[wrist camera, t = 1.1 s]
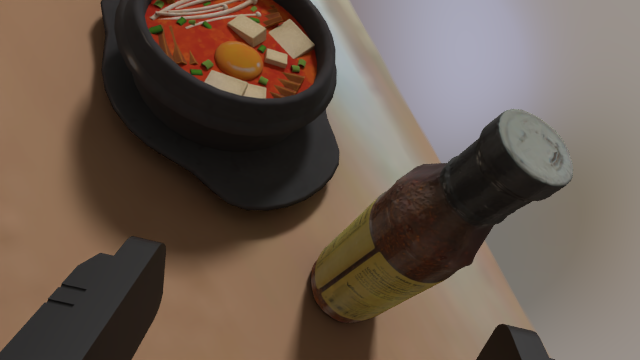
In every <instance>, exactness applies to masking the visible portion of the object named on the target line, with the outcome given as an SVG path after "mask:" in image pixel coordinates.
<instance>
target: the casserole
mask: <svg viewBox="0 0 640 360" xmlns="http://www.w3.org/2000/svg"><path fill="white" fill-rule="evenodd" d="M101 9H102V15H103V22H104V28H105V35H106V36H105V44H104V52H103V61H102V76H103V81H104V87H105V91H106V93H107V95H108V97H109V99H110V102H111V104H112V106H113V108H114V110H115V111H116V113H117V114H118V115H119V117H120V118H121V119H122V121H123V122H124V123H125V125H126V126H127V127H128V129H130V130H131V131H132V132H133V133H134V134H135V135H136V136H137V137H139V138H140V139H141V140H142V141H143V142H144V143H145V144H146V145H147V146H149V147H151V148H152V149H154V150H156V151H157V152H159V153H161V154H162V155H164V156H165V157H167V158H169V159H170V160H172V161H174V162H175V163H177V164H179V165H180V166H182V167H184V168H185V169H187V170H189V171H190V172H192V173H193V174H194V175H195V176H196V177H197V178H198V179H199V180H201V181H202V182H203V183H204V184H205V185H206V186H207V187H208V188H209V189H211V190H212V191H213V192H214V193H216V194H217V195H218V196H219V197H221V198H222V199H223V200H224V201H226V202H227V203H228V204H231V205H234V206H237V207H240V208H242V209H245V210H262V211H267V210H273V209H279V208H284V207H288V206H291V205H294V204H296V203H299V202H301V201H304V200H306V199H308V198H309V197H311V196H312V195H313V194H315V193H316V192H318V191H319V190H321V189H322V188H323V187H324V186H325V185H326V183H327V182H328V181H329V180H330V179H331V178H332V177H333V175H334V173H335V171H336V169H337V167H338V165H339V148H338V145H337V142H336V139H335V136H334V134H333V131H332V129H331V126H330V124H329V121H328V119H327V114H326V108H327V106H328V104H329V103H330V101H331V100H332V98H333V94H334V91H335V87H336V70H337V69H336V65H335V46H334V41H333V37H332V34H331V32H330V30H329V27H328V25H327V23H326V21H325V20H324V18H323V17H322V15H321V14H320V12H319V11H318V9H317V8H316V7H315V6H314V5H313V4H312V2H311V1H310V0H102V1H101Z"/></svg>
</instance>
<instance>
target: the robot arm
mask: <svg viewBox="0 0 640 360" xmlns="http://www.w3.org/2000/svg"><path fill="white" fill-rule="evenodd" d="M165 255H166V246H165V244H164V243H160V242H155V241H151V240H147V239H143V238H138V237H134V236H131V237H129V238H128V239H127V240H126V241H125V243H124V244H123V245H122V246H121V248H120V249H119V250H118V251H117V253H116V254H115V255H114V256H112V255H108V254H104V253H99V254H98V255H96V256H94V257H92V258H90V259H89V260H87V261H85V262H83V263H82V264H80V265H78V266H77V267H76V268H75V269H74V270H73V272H72V273H71V274H70V275H69V276H68V277H67V278H66V279H65V280H64V282H63V283H62V285H61V287H58V288H57V289H56V291H55V292H54V293H53V294H52V295H51V296H50V297H49V298H48V301H47V303H44V304H43V305H42V306H41V307H40V308H39V310H38V311H37V312H36V313H35V314H34V315H33V316H32V317H31V318H30V320H29V321H28V322H27V323H26V324H25V325H24V326H23V327H22V328H21V330H20V331H19V332H18V333H17V334H16V335H15V336H14V337H13V339H12V340H11V341H10V342H9V343H8V344H7V345H6V346H5V347H4V349H3V350H2V351H1V352H0V360H132V358H133V356H134V354H135V352H136V351H137V349H138V347H139V345H140V343H141V342H142V340H143V338H144V336H145V334H146V333H147V331H148V329H149V327H150V325H151V324H152V322H153V320H154V318H155V316H156V314H157V311H158V309H159V306H160V303H161V299H162V294H163V283H164V269H165ZM476 360H555V359H551V358H549V356H548V354H547V352H546V350H545V348H544V346H543V344H542V342H541V339H540V338H539V336H538V335H537V333H535V332H534V331H531V330H527V329H522V328H518V327H514V326H509V325H505V324H500V325H498V326H497V327H496V328H495V330H494V331H493V333H492V335H491V336H490V338H489V340H488V341H487V343H486V344H485V346H484V348H483V349H482V351H481V353H480V354H479V356H478V357H477V359H476Z"/></svg>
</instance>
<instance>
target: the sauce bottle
mask: <svg viewBox="0 0 640 360" xmlns="http://www.w3.org/2000/svg"><path fill="white" fill-rule="evenodd" d="M572 176H573V165H572V161H571V158H570V154H569V151H568V149H567V147H566V145H565V143H564V141H563V140H562V138H561V137H560V136H559V135H558V134H557V132H556V131H555V130H554V129H553V128H551V127H550V126H549V125H548V124H547V123H545V122H544V121H543V120H541V119H540V118H538V117H536V116H535V115H533V114H530V113H528V112H526V111H523V110H519V109H518V110H516V109H511V110H507V111H505V112H503V113H502V114H501V115H499V116H498V117H497V118H496V119H494V120H493V121H492V122H491V123H489V124H488V125H487V126H486V127H485V128H484V129H483V130H482V133H481V135H480V138H479V139H478V140H476V141H475V142H474V143H473V144H472V145H470V146H469V147H468V148H467V149H466V150H465V151H463V152H462V153H461V154H460V155H459V156H456V157H454V158H452V159H451V160H450V161H449V162H448V163H439V164H423V165H421V166H418V167H416V168H414V169H413V170H411V171H410V172H409V173H407V174H406V175H404V176H403V177H401V178H400V179H399V180H397V181H396V183H395V184H394V185H393V186H392V187H391V188H390V189H389V190H388V191H386V192H385V193H383V194H382V195H380V196H379V197H378V198H377V199H376V200H375V201H374V202H373V203H372V204H371V205H370V206H369V207H368V208H367V209H366V210H365V211H364V212H363V213H362V214H360V215H359V216H358V217H357V218H356V219H355V220H354V221H353V222H352V223H351V224H350V225H349V226H348V227H347V228H346V229H345V230H344V231H343V232H342V233H340V234H339V235H338V236H337V237H336V238H335V239H334V240H333V241H332V242H331V243H330V244H329V245H328V246H327V247H325V249H324V250H323V251H322V252H321V254H320V256H319V258H318V260H317V261H316V262H315V263H314V265H313V267H312V271H311V285H312V290H313V296H314V299H315V301H316V302H317V304H318V305H319V307H320V308H321V309H322V310H323V311H324V312H325V313H327V314H328V315H329V316H330V317H332V318H333V319H336V320H337V321H340V322H345V323H349V322H351V323H354V322H360V321H363V320H367V319H370V318H373V317H375V316H377V315H379V314H381V313H383V312H385V311H387V310H388V309H390V308H392V307H394V306H396V305H398V304H400V303H402V302H403V301H405V300H407V299H409V298H411V297H413V296H415V295H417V294H419V293H421V292H423V291H425V290H427V289H429V288H431V287H433V286H434V285H436V284H438V283H440V282H442V281H444V280H446V279H447V278H449V277H450V276H451V275H453V274H454V273H455V272H456V271H457V270H459V269H461V268H463V267H465V266H469V265H470V264H472V262H473V259H474V257H475V255H476V253H477V251H478V250H479V248H480V246H481V245H482V243H483V242H484V240H485V238H486V237H487V235H488V234H489V232H490V231H491V229H492V227H493V226H494V225H495V224H498V223H500V222H502V221H503V220H504V219H505V218H506V217H507V216H508V215H510V214H511V213H514V212H515V211H516V210H517V209H519V208H521V207H523V206H525V205H526V204H529V203H530V202H532V201H539V200H543V199H546V198H548V197H550V196H551V195H552V194H554V193H555V192H557V191H559V190H560V189H561V188H563V187H564V186H566V184H568V183H569V182H570V181H571V179H572Z"/></svg>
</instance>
